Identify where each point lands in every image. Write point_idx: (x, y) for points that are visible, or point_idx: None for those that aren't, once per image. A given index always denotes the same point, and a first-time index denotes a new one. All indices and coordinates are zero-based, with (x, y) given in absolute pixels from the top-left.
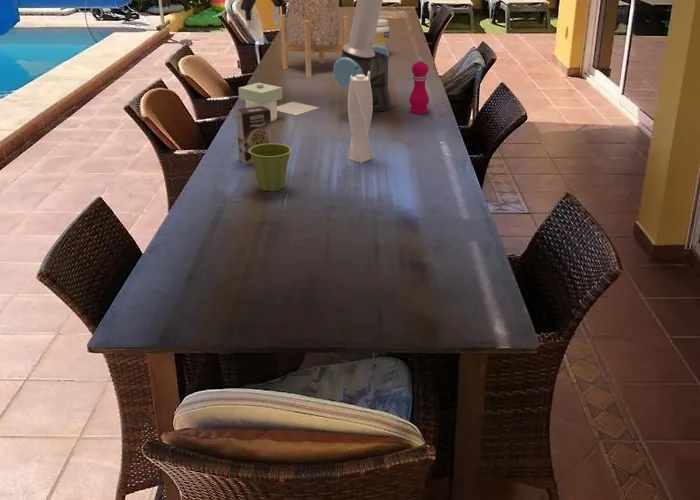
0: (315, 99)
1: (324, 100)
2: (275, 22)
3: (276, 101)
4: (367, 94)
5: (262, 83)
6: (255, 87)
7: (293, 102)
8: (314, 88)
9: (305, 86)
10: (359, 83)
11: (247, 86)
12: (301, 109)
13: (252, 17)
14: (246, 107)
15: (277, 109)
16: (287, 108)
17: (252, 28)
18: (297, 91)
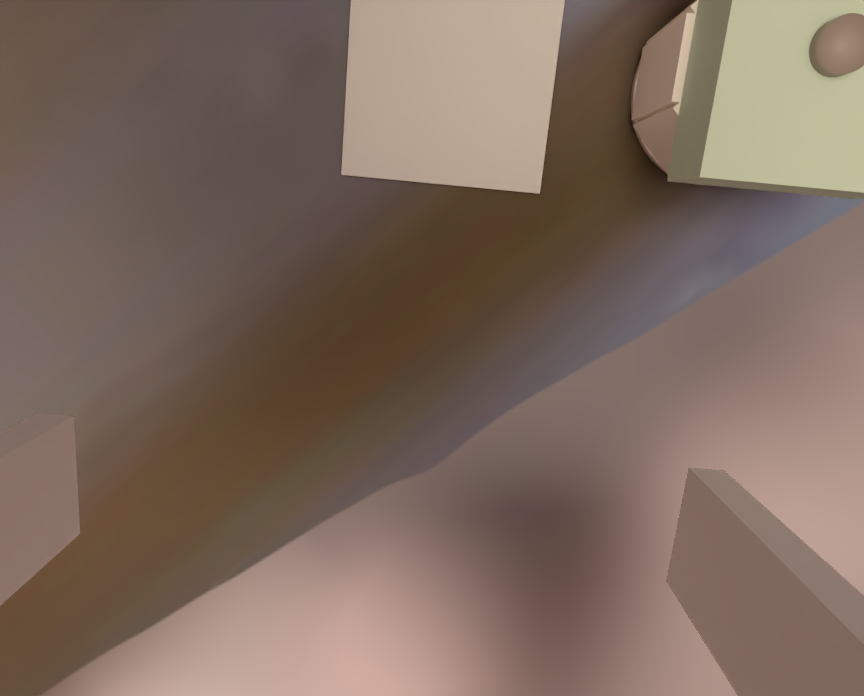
0: (203, 103)
1: (186, 37)
2: (59, 502)
3: (684, 10)
4: None
5: (711, 127)
6: (847, 86)
7: (352, 159)
8: (13, 275)
9: (16, 349)
10: None
11: (845, 164)
12: (451, 8)
13: (860, 602)
14: None
15: (527, 138)
16: (478, 101)
17: (733, 484)
18: (131, 316)
